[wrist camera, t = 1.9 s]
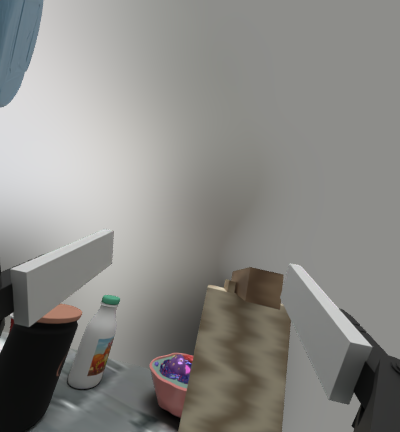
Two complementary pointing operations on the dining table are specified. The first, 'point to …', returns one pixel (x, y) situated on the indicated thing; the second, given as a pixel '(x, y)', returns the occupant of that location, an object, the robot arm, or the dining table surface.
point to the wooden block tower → (237, 366)
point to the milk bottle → (95, 346)
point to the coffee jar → (34, 366)
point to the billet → (258, 286)
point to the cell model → (171, 380)
